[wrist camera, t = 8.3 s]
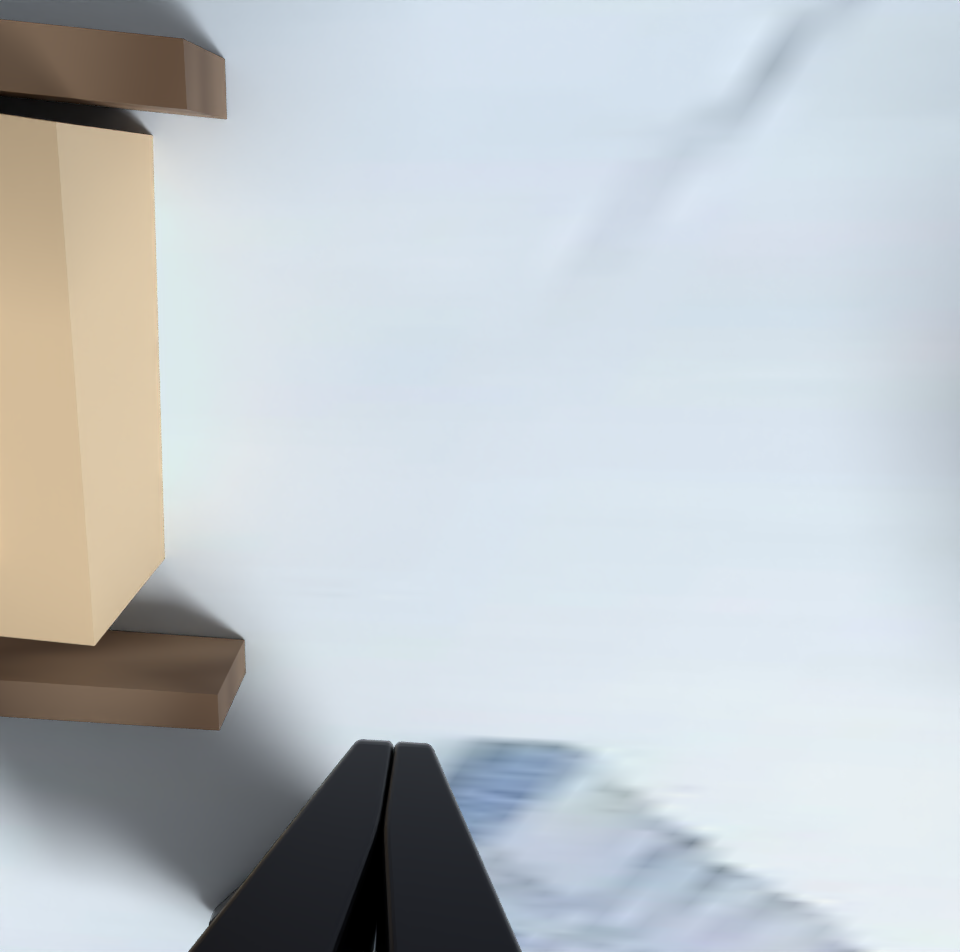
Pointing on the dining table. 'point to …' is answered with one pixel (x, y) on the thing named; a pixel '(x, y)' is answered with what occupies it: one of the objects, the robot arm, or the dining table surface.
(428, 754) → the robot arm
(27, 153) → the carton
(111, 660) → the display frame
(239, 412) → the dining table surface
